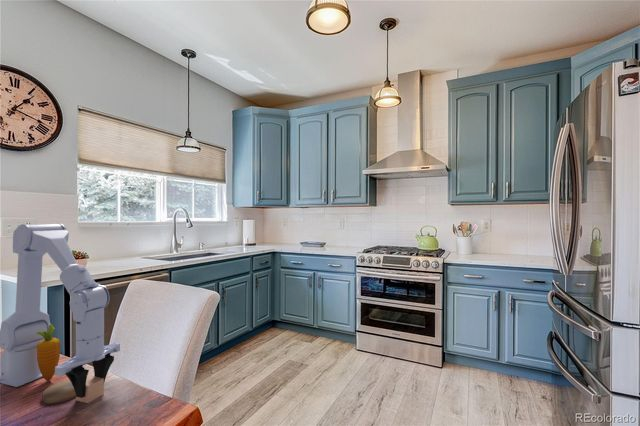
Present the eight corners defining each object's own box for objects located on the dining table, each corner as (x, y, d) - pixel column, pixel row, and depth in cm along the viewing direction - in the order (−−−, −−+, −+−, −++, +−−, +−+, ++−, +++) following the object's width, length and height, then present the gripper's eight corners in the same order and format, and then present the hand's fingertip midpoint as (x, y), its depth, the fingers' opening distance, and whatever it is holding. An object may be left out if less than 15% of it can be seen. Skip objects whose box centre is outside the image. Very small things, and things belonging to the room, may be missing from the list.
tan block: (76, 400, 77) (76, 383, 77) (92, 391, 81) (92, 376, 81) (87, 403, 76) (87, 386, 76) (103, 394, 80) (103, 378, 80)
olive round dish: (35, 401, 78) (35, 392, 78) (70, 384, 85) (70, 377, 85) (56, 407, 75) (56, 398, 75) (91, 389, 82) (91, 381, 82)
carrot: (46, 386, 83) (46, 329, 84) (31, 384, 84) (31, 328, 85) (65, 377, 88) (65, 323, 89) (50, 375, 89) (50, 322, 90)
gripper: (69, 350, 70) (69, 411, 70) (128, 328, 84) (128, 379, 84) (48, 346, 73) (48, 405, 72) (109, 325, 86) (109, 375, 86)
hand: (90, 391), depth 78 cm, fingers closed on tan block, 4 cm apart
